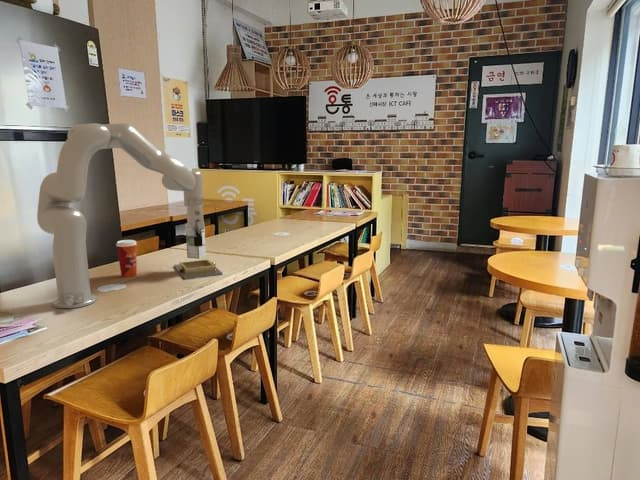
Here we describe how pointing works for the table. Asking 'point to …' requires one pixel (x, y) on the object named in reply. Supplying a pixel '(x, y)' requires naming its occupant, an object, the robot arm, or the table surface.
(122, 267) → the paper cup
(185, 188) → the robot arm
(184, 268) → the gray gold framed panel
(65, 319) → the table surface
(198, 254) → the syrup box
